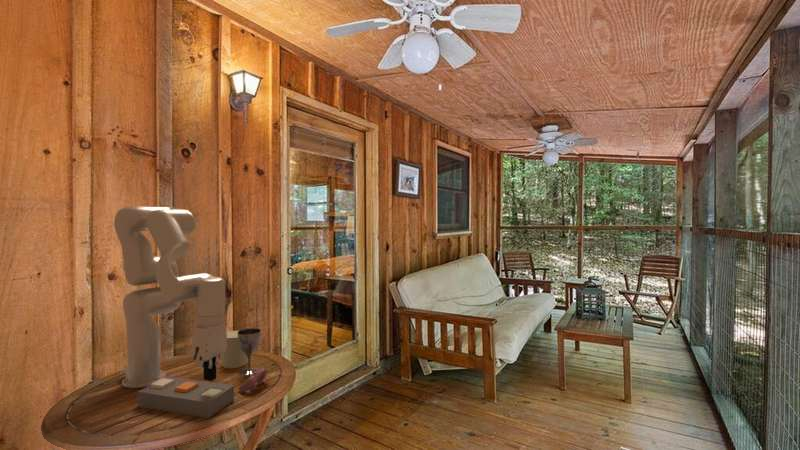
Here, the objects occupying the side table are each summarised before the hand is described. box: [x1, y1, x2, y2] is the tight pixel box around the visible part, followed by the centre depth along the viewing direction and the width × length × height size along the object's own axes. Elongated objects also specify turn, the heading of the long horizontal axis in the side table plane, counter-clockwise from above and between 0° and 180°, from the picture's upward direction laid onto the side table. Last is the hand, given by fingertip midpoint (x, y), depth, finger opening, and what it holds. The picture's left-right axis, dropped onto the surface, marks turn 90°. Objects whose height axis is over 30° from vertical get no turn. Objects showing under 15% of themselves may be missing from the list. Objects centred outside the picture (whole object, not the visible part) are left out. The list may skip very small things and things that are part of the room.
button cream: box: [151, 377, 174, 390], centre depth 119 cm, size 4×4×3 cm
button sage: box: [201, 388, 223, 397], centre depth 115 cm, size 4×4×3 cm
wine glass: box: [237, 327, 262, 377], centre depth 140 cm, size 8×8×15 cm
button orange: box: [175, 381, 198, 393], centre depth 117 cm, size 4×4×3 cm
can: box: [221, 330, 248, 369], centre depth 148 cm, size 9×9×12 cm
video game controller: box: [238, 367, 269, 393], centre depth 128 cm, size 10×5×7 cm, turn 169°
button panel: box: [137, 376, 235, 419], centre depth 117 cm, size 25×11×4 cm, turn 76°
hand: (209, 379), depth 115 cm, fingers closed
